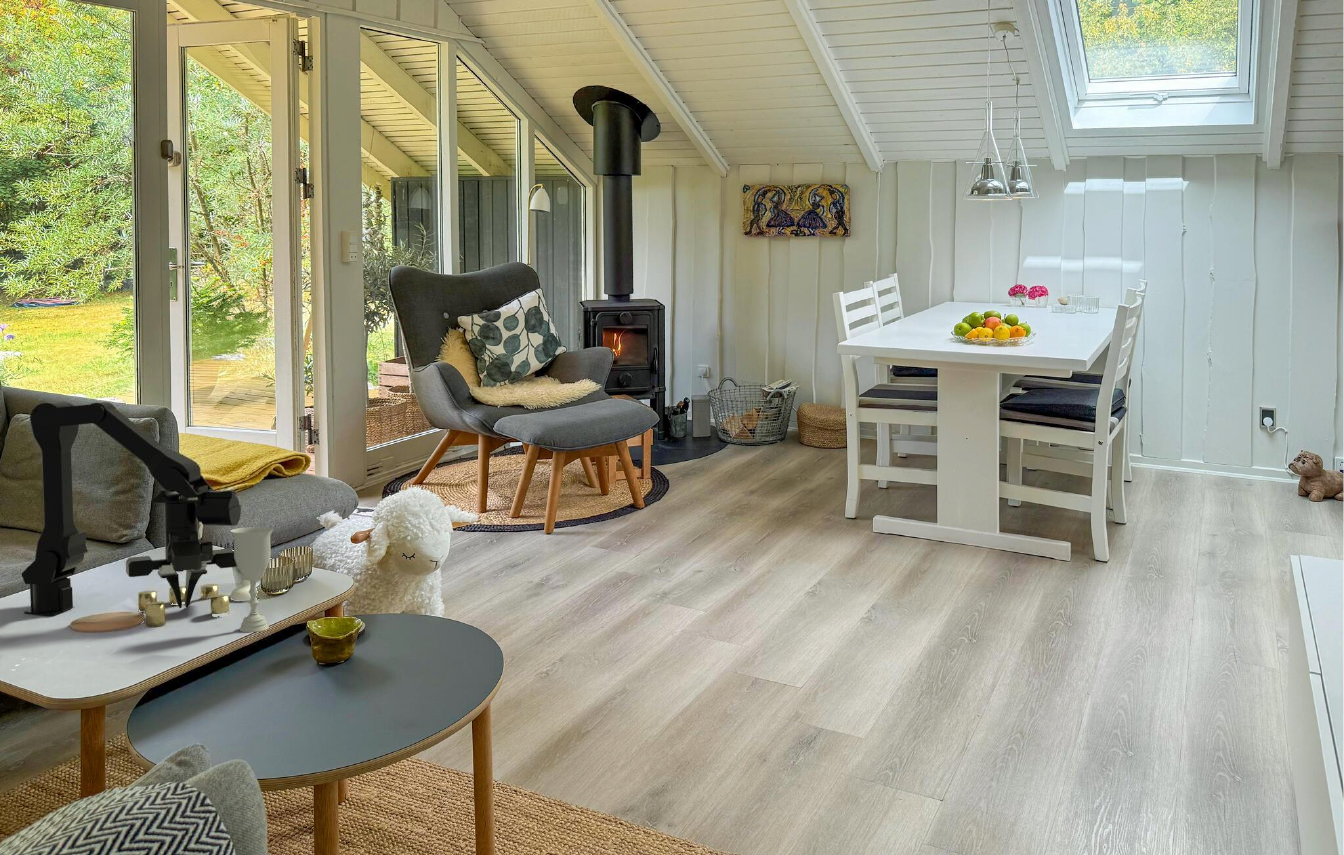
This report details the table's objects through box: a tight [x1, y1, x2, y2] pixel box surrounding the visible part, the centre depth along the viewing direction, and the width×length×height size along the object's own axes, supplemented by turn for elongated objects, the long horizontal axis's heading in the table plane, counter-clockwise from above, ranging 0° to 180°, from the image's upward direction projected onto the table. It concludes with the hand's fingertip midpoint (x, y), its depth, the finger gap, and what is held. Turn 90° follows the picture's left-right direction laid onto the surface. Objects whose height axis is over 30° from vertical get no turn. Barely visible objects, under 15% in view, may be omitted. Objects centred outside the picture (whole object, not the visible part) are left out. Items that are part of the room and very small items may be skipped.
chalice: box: [230, 526, 274, 633], centre depth 190 cm, size 7×7×18 cm
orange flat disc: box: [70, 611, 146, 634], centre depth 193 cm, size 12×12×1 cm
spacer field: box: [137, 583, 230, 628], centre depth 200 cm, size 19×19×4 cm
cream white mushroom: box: [229, 578, 257, 600], centre depth 208 cm, size 6×6×8 cm
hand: (183, 607), depth 200 cm, fingers closed
